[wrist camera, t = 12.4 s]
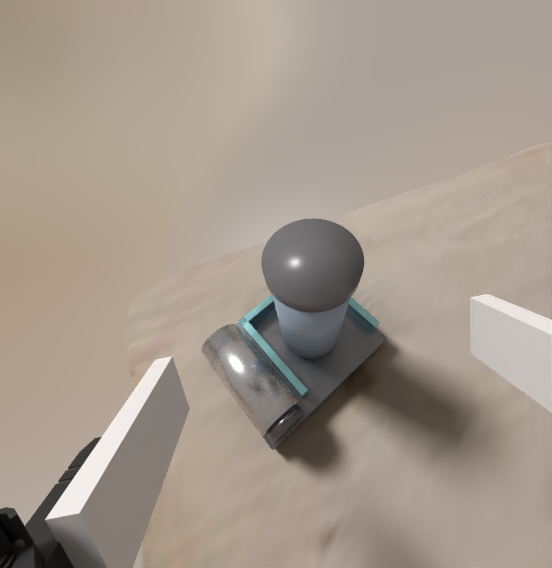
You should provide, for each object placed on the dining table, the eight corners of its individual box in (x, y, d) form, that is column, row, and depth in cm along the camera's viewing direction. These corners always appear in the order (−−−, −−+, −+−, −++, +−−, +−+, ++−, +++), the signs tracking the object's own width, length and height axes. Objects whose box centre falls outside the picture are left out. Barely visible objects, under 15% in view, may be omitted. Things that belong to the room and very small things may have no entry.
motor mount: (307, 274, 31) (307, 245, 26) (383, 343, 26) (398, 323, 22) (206, 356, 27) (186, 339, 23) (274, 449, 23) (266, 451, 19)
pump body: (310, 292, 28) (312, 203, 17) (353, 332, 26) (386, 259, 15) (267, 328, 26) (241, 257, 16) (309, 374, 24) (310, 326, 14)
